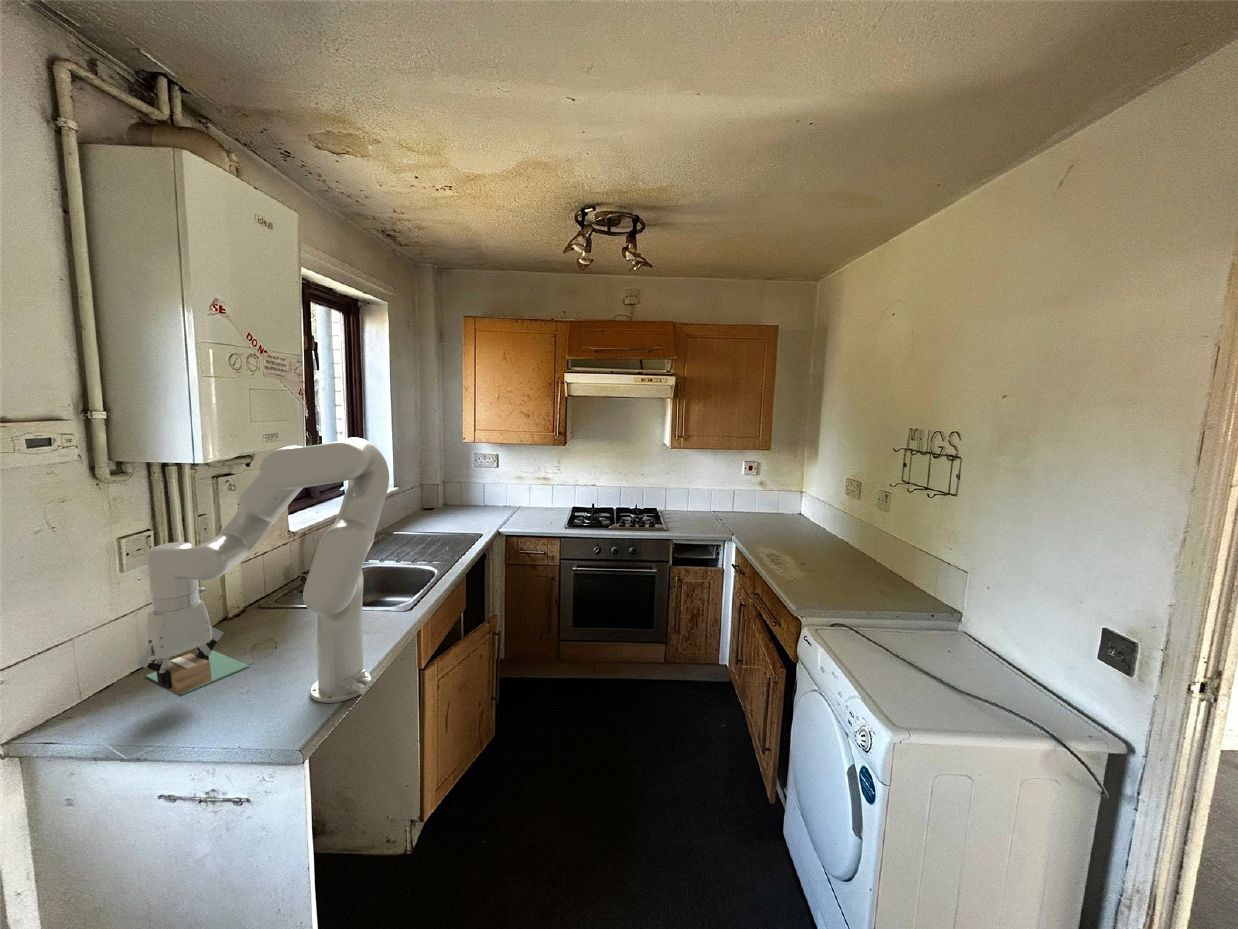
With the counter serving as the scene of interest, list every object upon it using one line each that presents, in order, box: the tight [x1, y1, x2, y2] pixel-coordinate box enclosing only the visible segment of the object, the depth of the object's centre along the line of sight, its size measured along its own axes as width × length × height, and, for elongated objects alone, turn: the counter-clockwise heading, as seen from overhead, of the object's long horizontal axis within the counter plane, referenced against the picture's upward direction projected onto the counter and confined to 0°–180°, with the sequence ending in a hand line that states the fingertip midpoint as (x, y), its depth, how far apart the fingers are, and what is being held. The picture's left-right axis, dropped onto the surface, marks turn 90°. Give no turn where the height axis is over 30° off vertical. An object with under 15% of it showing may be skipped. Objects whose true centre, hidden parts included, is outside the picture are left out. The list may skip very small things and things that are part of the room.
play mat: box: [145, 650, 250, 696], centre depth 123 cm, size 16×14×1 cm
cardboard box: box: [167, 653, 212, 695], centre depth 109 cm, size 8×6×5 cm
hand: (185, 678), depth 109 cm, fingers closed on cardboard box, 5 cm apart
